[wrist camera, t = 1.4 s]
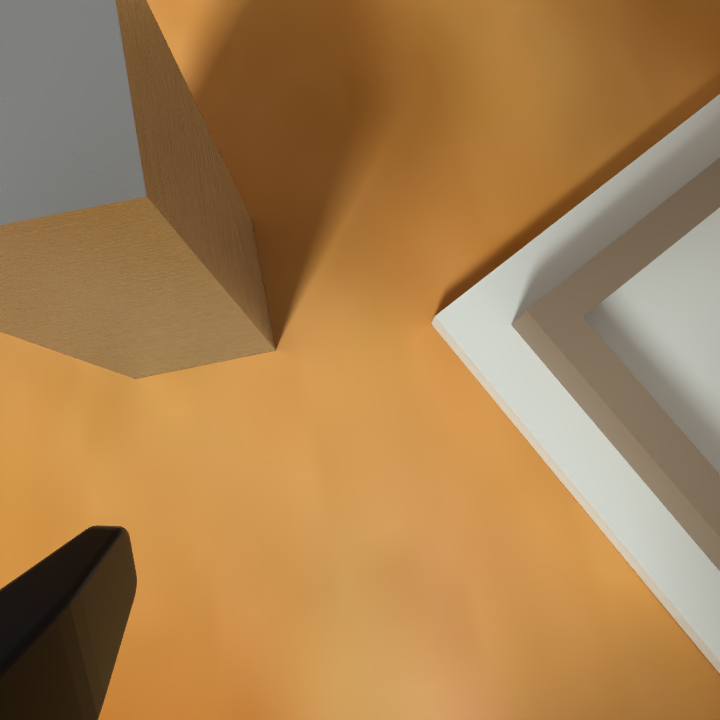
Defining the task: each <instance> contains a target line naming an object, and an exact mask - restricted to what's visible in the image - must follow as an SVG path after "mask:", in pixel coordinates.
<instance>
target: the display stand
mask: <svg viewBox="0 0 720 720" xmlns="http://www.w3.org/2000/svg"><path fill="white" fill-rule="evenodd" d="M431 324H432V325H433V327H434V328H435V329H436V330H437V331H438V333H439V334H440V335H441V336H442V338H443V339H444V340H445V341H446V342H447V344H448V345H449V346H450V347H451V348H452V350H453V351H454V352H455V353H456V355H457V356H458V357H459V358H460V359H461V361H462V362H463V363H464V364H465V365H466V367H467V368H468V369H469V370H470V372H471V373H472V374H473V375H474V376H475V378H476V379H477V380H478V381H479V382H480V384H481V385H482V386H483V387H484V389H485V390H486V391H487V392H488V393H489V395H490V396H491V397H492V398H493V399H494V401H495V402H496V403H497V404H498V406H499V407H500V408H501V409H502V410H503V412H504V413H505V414H506V415H507V416H508V418H509V419H510V420H511V421H512V423H513V424H514V425H515V426H516V427H517V429H518V430H519V431H520V432H521V433H522V435H523V436H524V437H525V438H526V439H527V441H528V442H529V443H530V444H531V446H532V447H533V448H534V449H535V450H536V452H537V453H538V454H539V455H540V456H541V458H542V459H543V460H544V461H545V463H546V464H547V465H548V466H549V467H550V469H551V470H552V471H553V472H554V473H555V475H556V476H557V477H558V478H559V480H560V481H561V482H562V483H563V484H564V486H565V487H566V488H567V489H568V490H569V492H570V493H571V494H572V495H573V497H574V498H575V499H576V500H577V501H578V503H579V504H580V505H581V506H582V507H583V509H584V510H585V511H586V512H587V514H588V515H589V516H590V517H591V518H592V520H593V521H594V522H595V523H596V524H597V526H598V527H599V528H600V529H601V531H602V532H603V533H604V534H605V535H606V537H607V538H608V539H609V540H610V541H611V543H612V544H613V545H614V546H615V548H616V549H617V550H618V551H619V552H620V554H621V555H622V556H623V557H624V558H625V560H626V561H627V562H628V563H629V565H630V566H631V567H632V568H633V569H634V571H635V572H636V573H637V574H638V575H639V577H640V578H641V579H642V580H643V581H644V583H645V584H646V585H647V586H648V588H649V589H650V590H651V591H652V592H653V594H654V595H655V596H656V597H657V598H658V600H659V601H660V602H661V603H662V605H663V606H664V607H665V608H666V609H667V611H668V612H669V613H670V614H671V615H672V617H673V618H674V619H675V620H676V622H677V623H678V624H679V625H680V626H681V628H682V629H683V630H684V631H685V632H686V634H687V635H688V636H689V637H690V639H691V640H692V641H693V642H694V643H695V645H696V646H697V647H698V648H699V649H700V651H701V652H702V653H703V654H704V656H705V657H706V658H707V659H708V660H709V662H710V663H711V664H712V665H713V666H714V668H715V669H716V670H717V671H718V673H719V674H720V94H719V95H718V96H716V97H715V98H714V99H713V100H711V101H710V102H709V103H707V104H706V105H705V106H704V107H702V108H701V109H700V110H698V111H697V112H696V113H695V114H693V115H692V116H691V117H690V118H688V119H687V120H686V121H684V122H683V123H682V124H681V125H679V126H678V127H677V128H675V129H674V130H673V131H672V132H670V133H669V134H668V135H666V136H665V137H664V138H663V139H661V140H660V141H659V142H657V143H656V144H655V145H654V146H652V147H651V148H650V149H648V150H647V151H646V152H645V153H643V154H642V155H641V156H640V157H638V158H637V159H636V160H634V161H633V162H632V163H631V164H629V165H628V166H627V167H625V168H624V169H623V170H622V171H620V172H619V173H618V174H616V175H615V176H614V177H613V178H611V179H610V180H609V181H607V182H606V183H605V184H604V185H602V186H601V187H600V188H598V189H597V190H596V191H595V192H593V193H592V194H591V195H590V196H588V197H587V198H586V199H584V200H583V201H582V202H581V203H579V204H578V205H577V206H575V207H574V208H573V209H572V210H570V211H569V212H568V213H566V214H565V215H564V216H563V217H561V218H560V219H559V220H557V221H556V222H555V223H554V224H552V225H551V226H550V227H548V228H547V229H546V230H545V231H543V232H542V233H541V234H539V235H538V236H537V237H536V238H534V239H533V240H532V241H531V242H529V243H528V244H527V245H525V246H524V247H523V248H522V249H520V250H519V251H518V252H516V253H515V254H514V255H513V256H511V257H510V258H509V259H507V260H506V261H505V262H504V263H502V264H501V265H500V266H498V267H497V268H496V269H495V270H493V271H492V272H491V273H489V274H488V275H487V276H486V277H484V278H483V279H482V280H481V281H479V282H478V283H477V284H475V285H474V286H473V287H472V288H470V289H469V290H468V291H466V292H465V293H464V294H463V295H461V296H460V297H459V298H457V299H456V300H455V301H454V302H452V303H451V304H450V305H448V306H447V307H446V308H445V309H443V310H442V311H441V312H439V313H438V314H437V315H436V316H435V317H434V319H433V321H432V323H431Z"/></svg>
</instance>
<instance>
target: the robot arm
mask: <svg viewBox="0 0 720 720" xmlns="http://www.w3.org/2000/svg"><path fill="white" fill-rule="evenodd" d="M136 586H137V576H136V570H135V564H134V558H133V553H132V547H131V542H130V537H129V533H128V532H127V530H126V529H125V528H123V527H120V526H92V527H90V528H88V529H86V530H85V531H83V532H82V533H80V534H79V535H78V536H76V537H75V538H73V539H72V540H70V541H69V542H68V543H66V544H65V545H63V546H62V547H60V548H59V549H58V550H56V551H55V552H53V553H52V554H50V555H49V556H48V557H46V558H45V559H43V560H42V561H40V562H39V563H38V564H36V565H35V566H33V567H32V568H30V569H29V570H27V571H26V572H25V573H23V574H22V575H20V576H19V577H17V578H16V579H15V580H13V581H12V582H10V583H9V584H7V585H6V586H5V587H3V588H2V589H0V720H98V718H99V715H100V712H101V709H102V705H103V702H104V699H105V696H106V692H107V689H108V686H109V682H110V679H111V675H112V672H113V669H114V665H115V662H116V658H117V655H118V652H119V648H120V645H121V641H122V638H123V635H124V631H125V628H126V624H127V621H128V618H129V614H130V611H131V607H132V604H133V601H134V597H135V593H136Z"/></svg>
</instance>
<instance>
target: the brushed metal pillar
mask: <svg viewBox="0 0 720 720" xmlns="http://www.w3.org/2000/svg"><path fill="white" fill-rule="evenodd" d="M0 332H2V333H5V334H8V335H11V336H14V337H17V338H20V339H23V340H25V341H28V342H31V343H34V344H37V345H40V346H43V347H45V348H48V349H51V350H54V351H57V352H60V353H63V354H65V355H68V356H71V357H74V358H77V359H80V360H83V361H86V362H88V363H91V364H94V365H97V366H100V367H103V368H106V369H108V370H111V371H114V372H117V373H120V374H123V375H126V376H128V377H131V378H134V379H138V378H143V377H147V376H152V375H157V374H162V373H167V372H172V371H177V370H182V369H187V368H192V367H197V366H202V365H207V364H212V363H217V362H221V361H226V360H231V359H236V358H241V357H246V356H251V355H256V354H261V353H266V352H271V351H276V349H275V344H274V338H273V333H272V328H271V322H270V317H269V311H268V306H267V301H266V295H265V290H264V284H263V279H262V274H261V268H260V263H259V257H258V252H257V247H256V241H255V236H254V230H253V225H252V220H251V217H250V215H249V212H248V210H247V208H246V206H245V204H244V202H243V200H242V198H241V196H240V194H239V192H238V190H237V188H236V185H235V183H234V181H233V179H232V177H231V175H230V173H229V171H228V169H227V167H226V165H225V163H224V161H223V158H222V156H221V154H220V152H219V150H218V148H217V146H216V144H215V142H214V140H213V138H212V136H211V134H210V131H209V129H208V127H207V125H206V123H205V121H204V119H203V117H202V115H201V113H200V111H199V109H198V106H197V104H196V102H195V100H194V98H193V96H192V94H191V92H190V90H189V88H188V86H187V84H186V82H185V79H184V77H183V75H182V73H181V71H180V69H179V67H178V65H177V63H176V61H175V59H174V57H173V55H172V52H171V50H170V48H169V46H168V44H167V42H166V40H165V38H164V36H163V34H162V32H161V30H160V28H159V25H158V23H157V21H156V19H155V17H154V15H153V13H152V11H151V9H150V7H149V5H148V3H147V0H0Z"/></svg>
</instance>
